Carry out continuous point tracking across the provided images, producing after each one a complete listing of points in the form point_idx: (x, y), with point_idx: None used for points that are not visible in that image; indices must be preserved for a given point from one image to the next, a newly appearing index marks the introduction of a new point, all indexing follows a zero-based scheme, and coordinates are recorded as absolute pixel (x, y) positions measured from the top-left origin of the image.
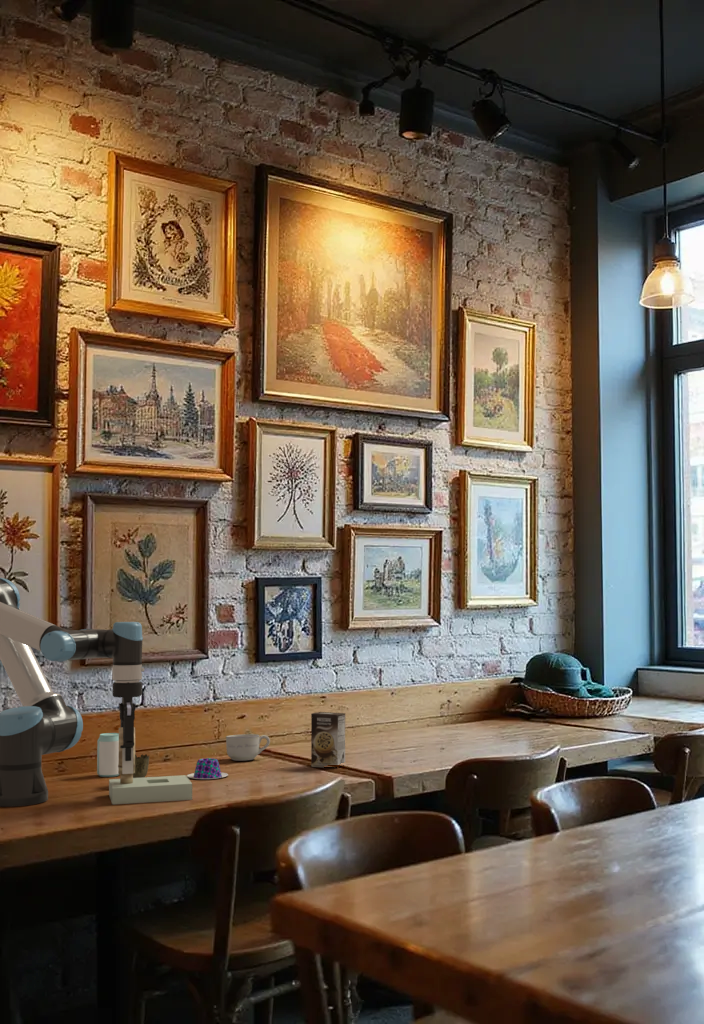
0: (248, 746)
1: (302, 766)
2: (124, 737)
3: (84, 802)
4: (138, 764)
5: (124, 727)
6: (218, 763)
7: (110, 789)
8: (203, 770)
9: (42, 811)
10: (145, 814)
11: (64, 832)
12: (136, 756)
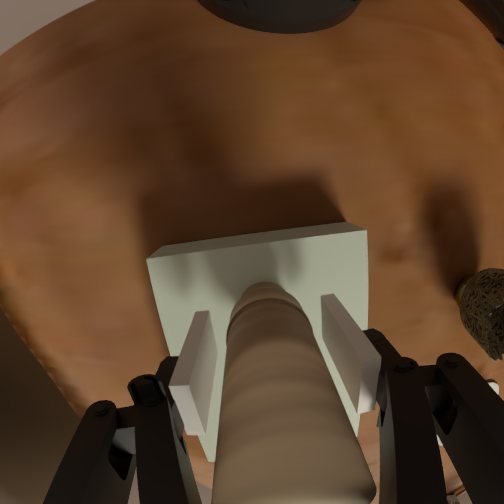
0: None
1: (454, 487)
2: (72, 441)
3: (220, 146)
4: (477, 327)
5: (48, 497)
6: None
7: (269, 237)
8: None
9: (106, 55)
10: (45, 332)
11: None
12: None
